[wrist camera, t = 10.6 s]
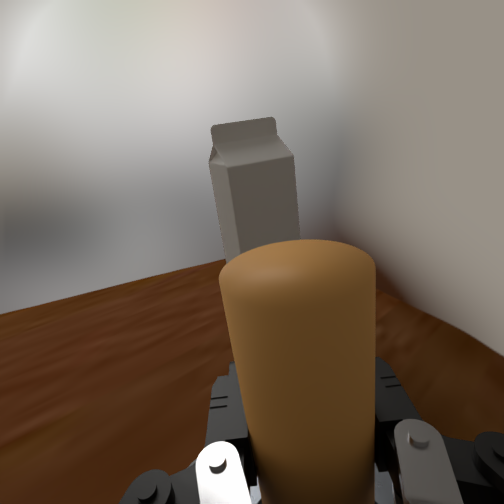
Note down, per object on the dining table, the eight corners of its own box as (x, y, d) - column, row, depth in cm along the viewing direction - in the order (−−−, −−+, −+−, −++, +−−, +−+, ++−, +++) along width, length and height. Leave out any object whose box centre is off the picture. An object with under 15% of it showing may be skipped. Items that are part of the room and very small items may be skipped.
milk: (237, 328, 38) (200, 127, 29) (284, 312, 39) (261, 118, 31) (257, 360, 32) (218, 123, 24) (310, 339, 34) (290, 113, 26)
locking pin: (256, 574, 14) (188, 281, 9) (310, 495, 16) (282, 233, 11) (342, 673, 11) (316, 330, 6) (390, 560, 14) (402, 252, 8)
